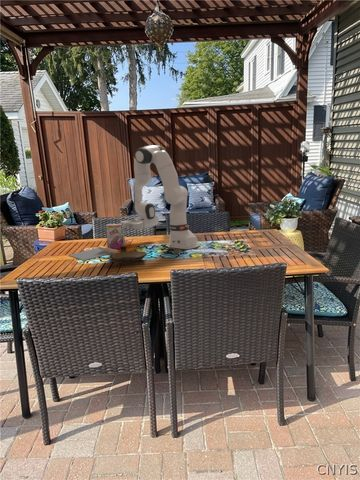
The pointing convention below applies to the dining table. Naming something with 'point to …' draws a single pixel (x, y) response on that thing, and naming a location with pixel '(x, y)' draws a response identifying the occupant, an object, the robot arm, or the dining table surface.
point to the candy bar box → (115, 235)
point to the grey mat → (93, 253)
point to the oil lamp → (126, 255)
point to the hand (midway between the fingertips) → (121, 226)
